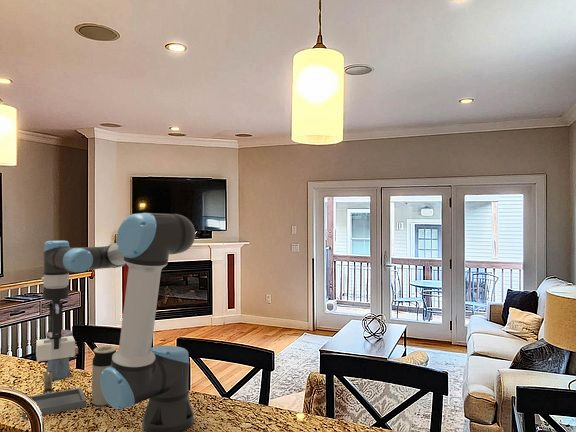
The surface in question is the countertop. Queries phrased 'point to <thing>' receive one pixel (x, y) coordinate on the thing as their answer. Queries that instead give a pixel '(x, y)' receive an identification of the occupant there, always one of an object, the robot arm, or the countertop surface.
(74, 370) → the countertop surface
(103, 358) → the travel mug
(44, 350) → the white boxy piece
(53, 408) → the tray
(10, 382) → the countertop surface
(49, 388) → the stake
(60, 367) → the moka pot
